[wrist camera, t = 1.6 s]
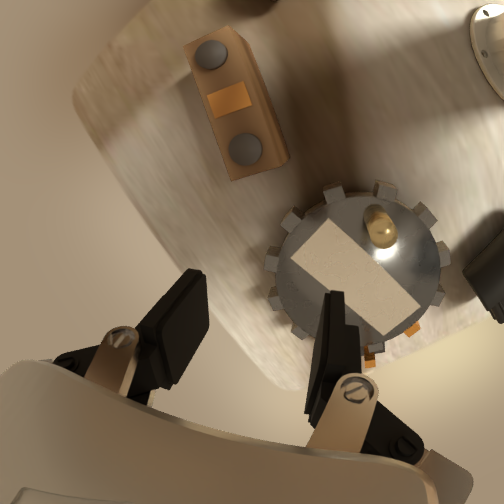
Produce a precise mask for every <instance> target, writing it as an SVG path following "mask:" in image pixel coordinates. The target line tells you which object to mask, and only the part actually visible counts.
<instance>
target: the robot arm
mask: <svg viewBox="0 0 504 504" xmlns="http://www.w3.org/2000/svg"><path fill="white" fill-rule="evenodd" d="M470 37H471V42H472V47H473V50H474V53H475V56H476V59H477V61H478V63H479V66H480V68H481V70H482V72H483V73H484V75H485V77H486V79H487V80H488V82H489V83H490V85H491V86H492V88H493V89H494V90H495V91H496V93H497V94H498V95H499V96H500V97H501V98H502V99H503V100H504V6H502V5H499V4H491V3H490V4H486V5H483V6H481V7H480V8H478V9H477V10H476V11H475V12H474V14H473V16H472V18H471V23H470ZM208 329H209V312H208V298H207V284H206V275H205V274H203V273H202V271H201V270H196V269H187V270H186V271H185V272H184V273H183V275H182V276H181V277H180V278H179V279H178V280H177V281H176V282H175V284H174V285H173V286H172V287H171V288H170V289H169V290H168V291H167V293H166V294H165V295H163V296H162V298H161V299H160V300H159V301H158V302H157V303H156V304H155V305H154V307H153V308H152V309H151V310H150V311H149V312H148V313H147V315H146V316H145V317H144V318H143V319H142V320H141V322H140V323H139V324H138V325H137V326H136V327H135V328H132V327H129V326H119V327H115V328H113V329H111V330H110V331H108V332H107V333H106V335H105V336H104V338H103V340H102V342H101V344H100V345H96V346H92V347H88V348H84V349H80V350H76V351H71V352H67V353H64V354H61V355H60V356H58V357H57V358H56V359H55V360H54V362H53V360H52V359H47V360H38V361H37V360H22V361H19V362H17V363H15V364H13V365H12V366H10V367H9V368H8V369H7V370H6V371H4V372H3V373H2V374H1V375H0V504H464V503H465V502H466V500H467V498H468V496H469V494H470V493H471V490H472V487H473V477H472V475H471V474H470V473H469V472H468V471H467V470H465V469H464V468H462V467H460V466H459V465H457V464H455V463H454V462H452V461H450V460H449V459H447V458H445V457H444V456H442V455H440V454H439V453H437V452H435V451H434V450H432V449H431V450H430V451H428V450H427V449H425V448H424V443H423V441H422V439H421V438H420V437H419V435H418V434H417V433H415V432H414V431H413V430H412V429H410V428H409V427H408V426H407V425H406V424H404V423H403V422H402V421H401V420H400V419H399V418H397V417H396V416H395V415H394V414H393V413H392V412H390V411H389V410H388V409H387V408H386V407H384V406H383V405H382V404H381V403H380V402H379V401H377V398H378V393H379V390H378V387H377V384H376V383H375V382H374V380H372V379H371V378H370V377H368V376H366V375H364V374H362V370H361V349H360V334H359V327H358V326H356V325H348V324H345V296H344V291H336V290H331V291H330V293H325V295H324V300H323V305H322V310H321V315H320V320H319V325H318V329H317V334H316V339H315V343H314V349H313V357H312V364H311V372H310V379H309V385H308V392H307V398H306V405H305V411H304V414H309V419H308V422H310V425H311V426H312V427H313V428H314V429H315V430H314V432H313V434H312V436H311V438H310V440H309V442H308V443H307V445H306V447H299V446H293V445H286V444H281V443H275V442H269V441H264V440H260V439H254V438H250V437H245V436H241V435H237V434H233V433H229V432H225V431H221V430H218V429H214V428H210V427H206V426H203V425H200V424H197V423H193V422H190V421H187V420H184V419H181V418H178V417H175V416H172V415H169V414H166V413H164V412H161V411H158V410H156V409H153V408H152V405H153V400H154V396H155V392H156V389H158V388H159V387H162V388H164V389H167V390H170V389H171V387H172V385H173V384H177V383H178V382H179V379H180V378H181V376H182V375H183V373H184V371H185V369H186V367H187V366H188V364H189V362H190V361H191V359H192V357H193V355H194V354H195V352H196V350H197V349H198V347H199V345H200V343H201V342H202V340H203V338H204V336H205V335H206V333H207V331H208Z"/></svg>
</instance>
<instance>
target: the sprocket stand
mask: <svg viewBox="0 0 504 504" xmlns="http://www.w3.org/2000/svg"><path fill="white" fill-rule="evenodd" d="M382 345H383V350H379V351H375V352H371V353H369V349H368V346H360V349H361V356H364V358H365V368H371V367H376V365H375V354H376V353H382V352H385V343H384V342H382Z"/></svg>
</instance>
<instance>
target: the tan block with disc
mask: <svg viewBox="0 0 504 504" xmlns="http://www.w3.org/2000/svg"><path fill="white" fill-rule="evenodd" d="M183 48H184V51H185V54H186V56H187V59H188V62H189V65H190V67H191V70H192V73H193V76H194V79H195V81H196V84H197V87H198V90H199V92H200V95H201V98H202V101H203V104H204V106H205V109H206V112H207V115H208V118H209V120H210V123H211V126H212V129H213V132H214V135H215V137H216V140H217V143H218V146H219V149H220V151H221V154H222V157H223V160H224V163H225V165H226V168H227V171H228V174H229V177H230V180H231V181H233V180H237V179H240V178H243V177H246V176H250V175H253V174H256V173H260V172H263V171H267V170H270V169H274V168H277V167H281V166H282V165H283V164H284V163H285V162H286V161H287V160H288V159H289V158H290V156H289V153H288V150H287V146H286V143H285V140H284V137H283V134H282V131H281V128H280V126H279V123H278V120H277V117H276V114H275V111H274V108H273V105H272V103H271V100H270V97H269V94H268V92H267V89H266V86H265V84H264V81H263V78H262V76H261V73H260V70H259V68H258V65H257V63H256V60H255V58H254V55H253V53H252V50H251V48H250V45H249V43H248V42H247V41H246V40H244V39H243V38H242V37H241V36H240V35H239V34H238V33H237V32H236V31H235V30H233V29H232V28H231V27H230V26H229V25H228V26H226V27H224V28H221V29H219V30H217V31H214V32H212V33H210V34H208V35H205V36H203V37H201V38H199V39H197V40H195V41H193V42H191V43H189V44H187V45H185V46H183Z"/></svg>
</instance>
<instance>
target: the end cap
mask: <svg viewBox="0 0 504 504" xmlns="http://www.w3.org/2000/svg"><path fill="white" fill-rule="evenodd" d="M462 273H463V275H464V277H465V278H466V280H467V281H468V283H469V284H470V286H471V287H472V289H473V290H474V292H475V293H476V295H477V296H478V298H479V299H480V301H481V302H482V304H483V306H484V307H485V309H486V310H487V311H489V312H490V313H491V315H492V317H493V319H494V320H497V321H498V323H500V324H502V323H504V229H503V230H502V231H501V232H500V233H499V234H498V236H497V237H496V238H495V239H494V240H493V241H492V242H491V243H490V244H489V245H488V246H487V247H486V248H485V249H484V250H483V251H482V252H481V253H480V254H479V255H478V256H477V257H476V258H475V259H474V260H473V261H472V262H471V263H470V264H469V265H468V266H467V267H466V268H465V269H464V270H463V272H462Z"/></svg>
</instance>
